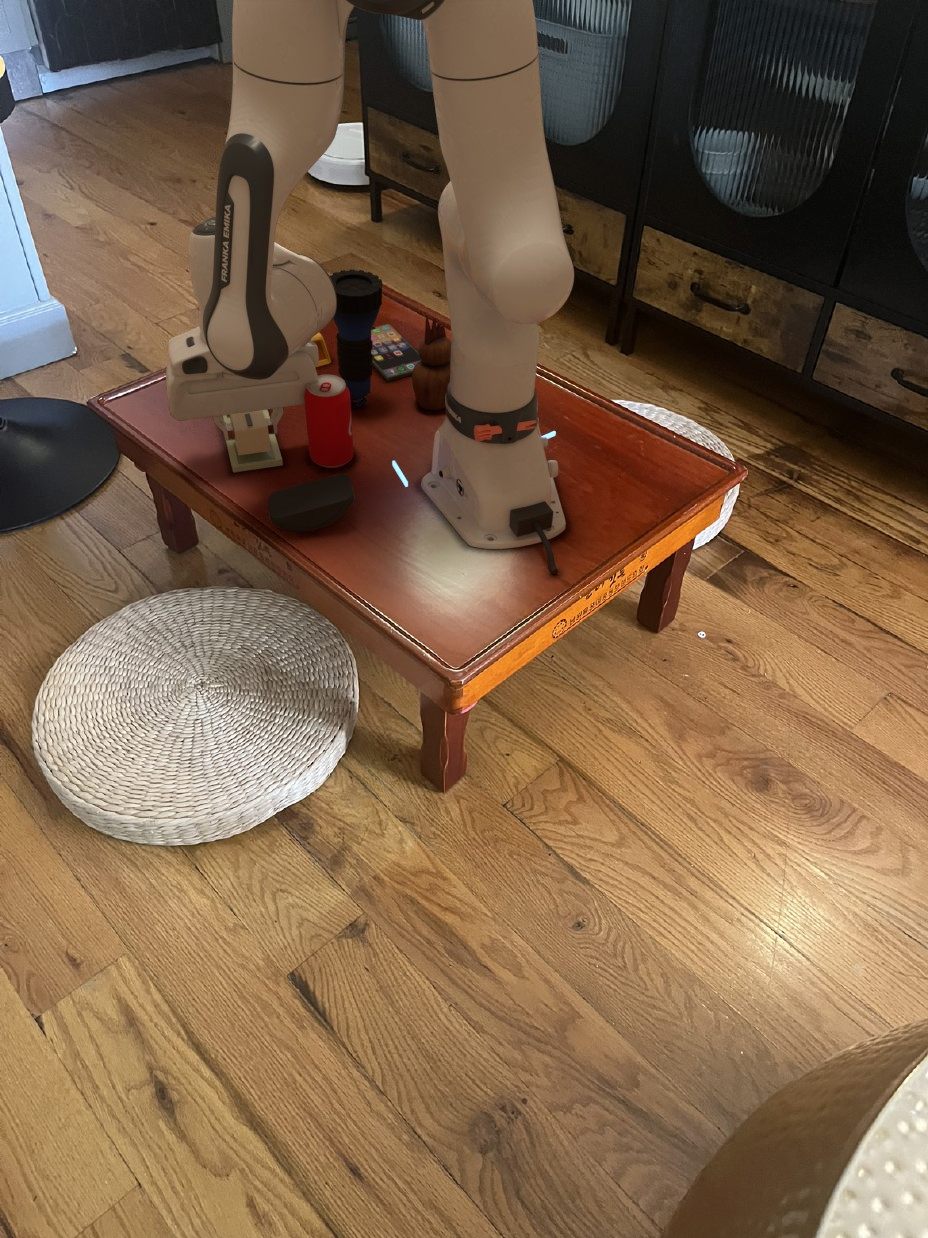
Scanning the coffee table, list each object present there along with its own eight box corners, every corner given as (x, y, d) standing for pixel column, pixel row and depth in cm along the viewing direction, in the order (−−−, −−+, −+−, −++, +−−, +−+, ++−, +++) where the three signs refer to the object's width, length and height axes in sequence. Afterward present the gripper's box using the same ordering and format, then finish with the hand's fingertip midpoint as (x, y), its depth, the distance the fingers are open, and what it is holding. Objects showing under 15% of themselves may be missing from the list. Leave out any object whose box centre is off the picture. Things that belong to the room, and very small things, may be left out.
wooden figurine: (421, 418, 142) (422, 327, 131) (407, 399, 146) (406, 308, 135) (461, 409, 144) (465, 319, 133) (447, 391, 148) (449, 301, 137)
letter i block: (270, 451, 131) (267, 425, 128) (238, 455, 129) (234, 430, 127) (265, 433, 134) (262, 408, 131) (233, 437, 132) (229, 412, 130)
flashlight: (395, 409, 143) (393, 284, 129) (353, 426, 140) (346, 300, 125) (365, 386, 148) (360, 263, 133) (323, 403, 144) (313, 278, 130)
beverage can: (357, 447, 136) (353, 374, 127) (349, 472, 131) (345, 398, 123) (314, 443, 136) (308, 370, 128) (305, 468, 132) (298, 394, 123)
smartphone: (387, 381, 149) (387, 374, 148) (346, 339, 158) (346, 332, 157) (431, 369, 152) (431, 363, 151) (389, 329, 161) (389, 322, 160)
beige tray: (283, 465, 132) (279, 434, 129) (233, 472, 130) (227, 441, 127) (263, 398, 144) (259, 368, 140) (217, 404, 142) (212, 374, 139)
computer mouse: (268, 521, 118) (278, 545, 121) (354, 497, 119) (362, 522, 121) (265, 493, 123) (275, 517, 126) (348, 471, 123) (356, 495, 126)
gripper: (312, 324, 125) (319, 412, 135) (155, 341, 120) (174, 432, 130) (322, 347, 121) (328, 437, 131) (159, 366, 116) (179, 458, 126)
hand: (250, 435), depth 130 cm, fingers closed on letter i block, 4 cm apart
